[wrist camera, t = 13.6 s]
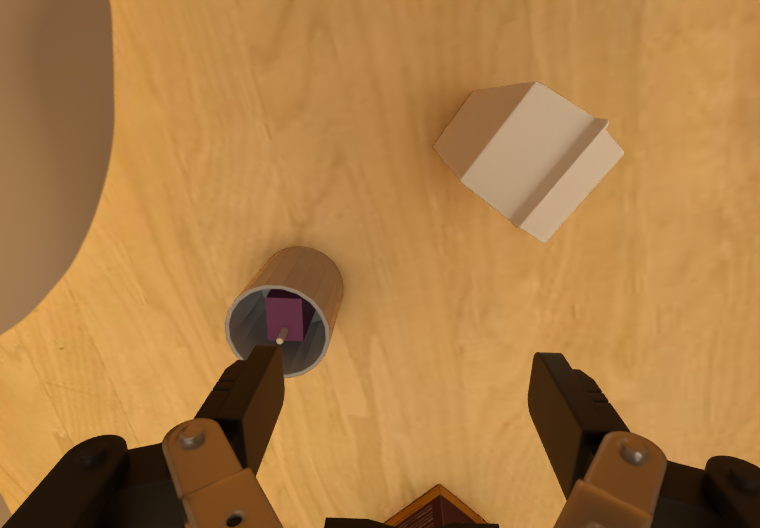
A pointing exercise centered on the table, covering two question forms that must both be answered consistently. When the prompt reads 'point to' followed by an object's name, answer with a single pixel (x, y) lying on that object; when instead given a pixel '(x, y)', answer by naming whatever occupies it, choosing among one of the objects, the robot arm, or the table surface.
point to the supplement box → (434, 511)
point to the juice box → (287, 316)
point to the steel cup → (297, 275)
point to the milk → (528, 153)
